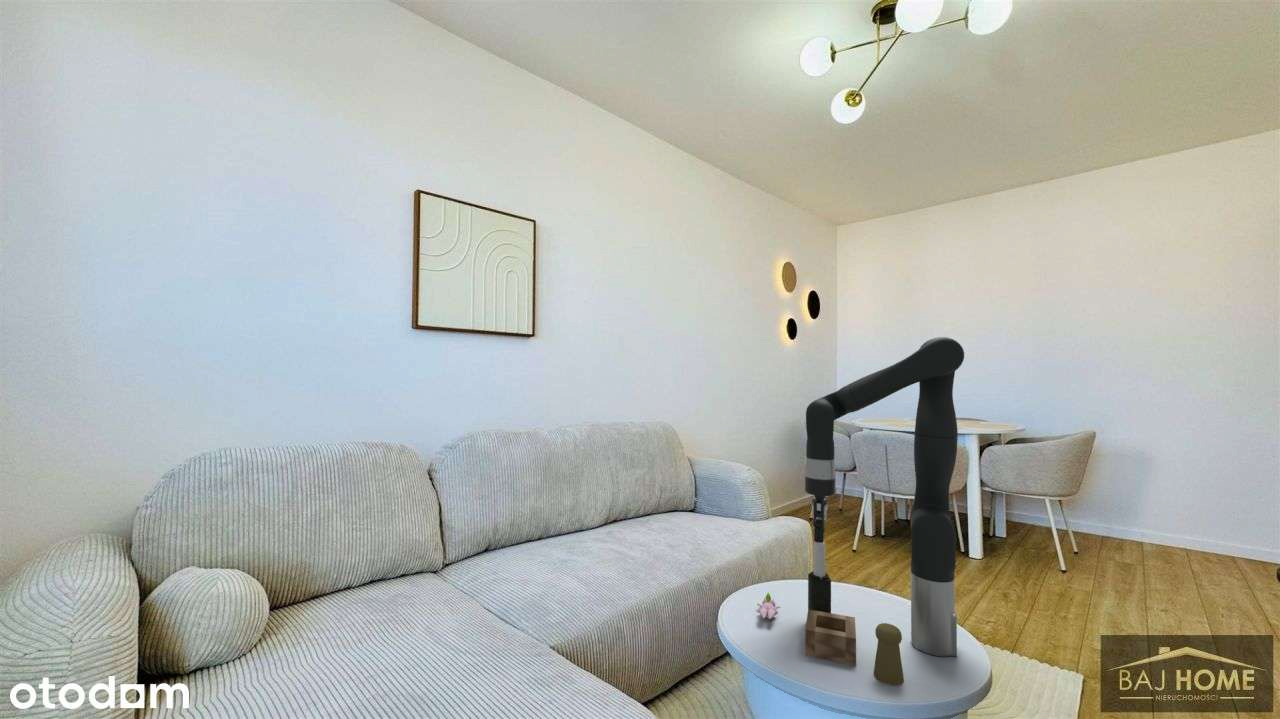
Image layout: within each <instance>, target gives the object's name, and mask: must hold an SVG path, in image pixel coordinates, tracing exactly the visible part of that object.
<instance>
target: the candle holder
mask: <svg viewBox="0 0 1280 719" xmlns="http://www.w3.org/2000/svg"><path fill="white" fill-rule="evenodd" d="M806 615H807V616H806V621H805V627H804V628H805V629H804V638H805V639H804V641H805V642H804V653H805V654H804V655H805V657H811V658H818V659H820V660H821V659H823V660H827V661H832V662H835V663H836V662H837V663H842V664H846V665H851V666H854V667H855V666H857V632H856V617H855V616H848V615H843V614H842V615H841V614H838V613H837V614H836V613H833V612H831V613H826V612H821V611H815V610H809V609H808V608H807V614H806Z"/></svg>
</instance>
